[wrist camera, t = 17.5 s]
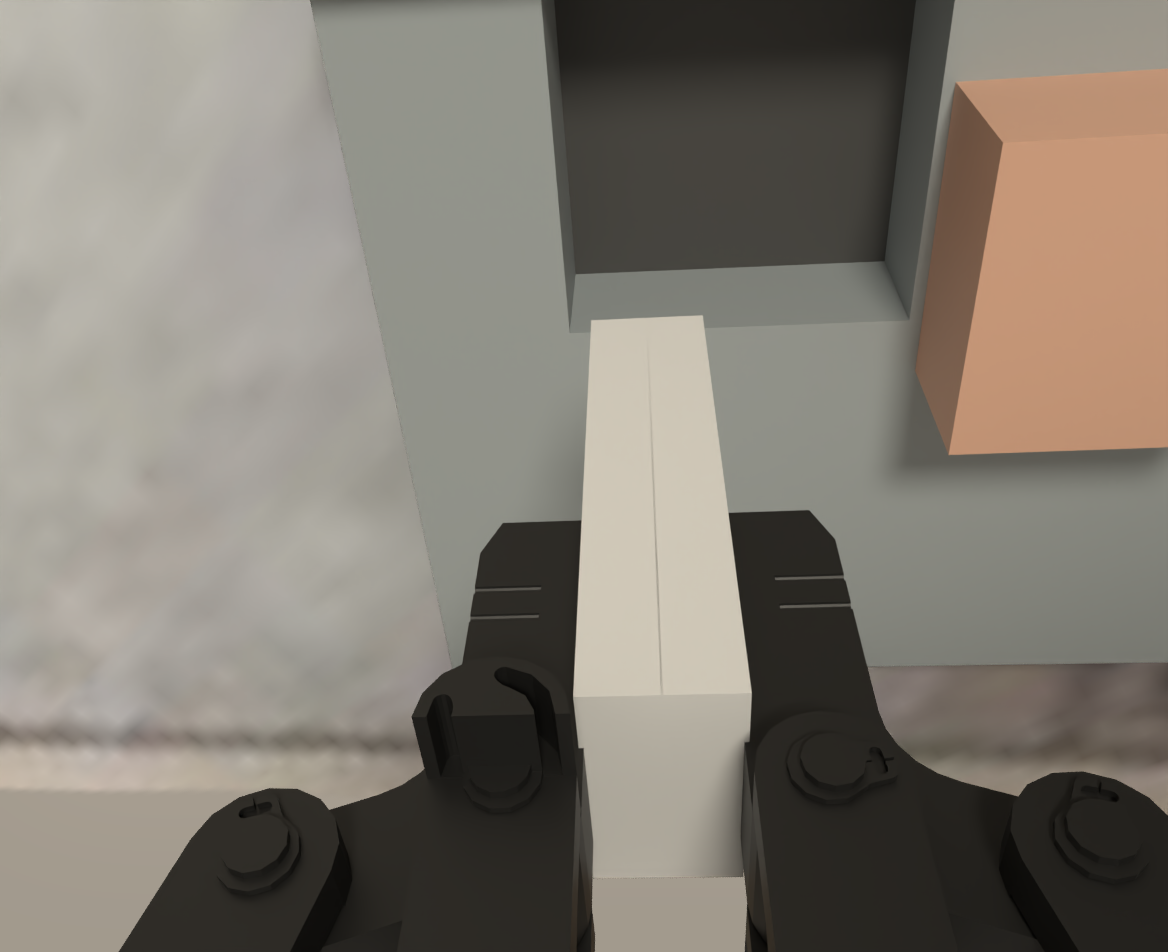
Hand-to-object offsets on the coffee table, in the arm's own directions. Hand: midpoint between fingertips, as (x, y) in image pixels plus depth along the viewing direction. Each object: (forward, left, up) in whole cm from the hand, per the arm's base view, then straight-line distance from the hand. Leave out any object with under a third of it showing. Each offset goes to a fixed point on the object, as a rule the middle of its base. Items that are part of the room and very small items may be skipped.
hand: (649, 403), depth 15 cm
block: (+1, +9, -7) cm, 11 cm away
